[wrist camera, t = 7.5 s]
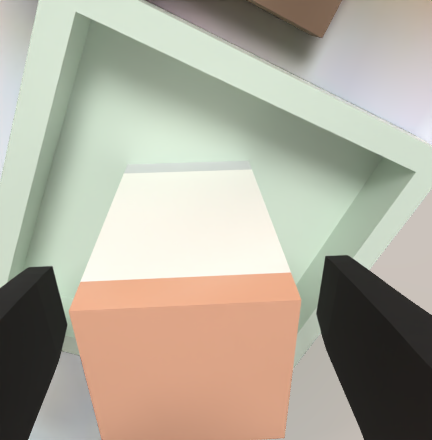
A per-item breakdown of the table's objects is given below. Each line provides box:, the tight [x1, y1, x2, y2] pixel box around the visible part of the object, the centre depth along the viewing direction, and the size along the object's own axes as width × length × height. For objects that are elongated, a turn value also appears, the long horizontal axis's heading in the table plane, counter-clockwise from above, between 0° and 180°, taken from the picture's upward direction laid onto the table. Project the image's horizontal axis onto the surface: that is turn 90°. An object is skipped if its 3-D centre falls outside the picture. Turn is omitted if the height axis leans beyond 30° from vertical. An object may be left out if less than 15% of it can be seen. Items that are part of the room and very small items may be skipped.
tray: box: [0, 0, 432, 368], centre depth 13 cm, size 12×12×2 cm
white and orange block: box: [69, 161, 301, 440], centre depth 11 cm, size 4×4×7 cm
